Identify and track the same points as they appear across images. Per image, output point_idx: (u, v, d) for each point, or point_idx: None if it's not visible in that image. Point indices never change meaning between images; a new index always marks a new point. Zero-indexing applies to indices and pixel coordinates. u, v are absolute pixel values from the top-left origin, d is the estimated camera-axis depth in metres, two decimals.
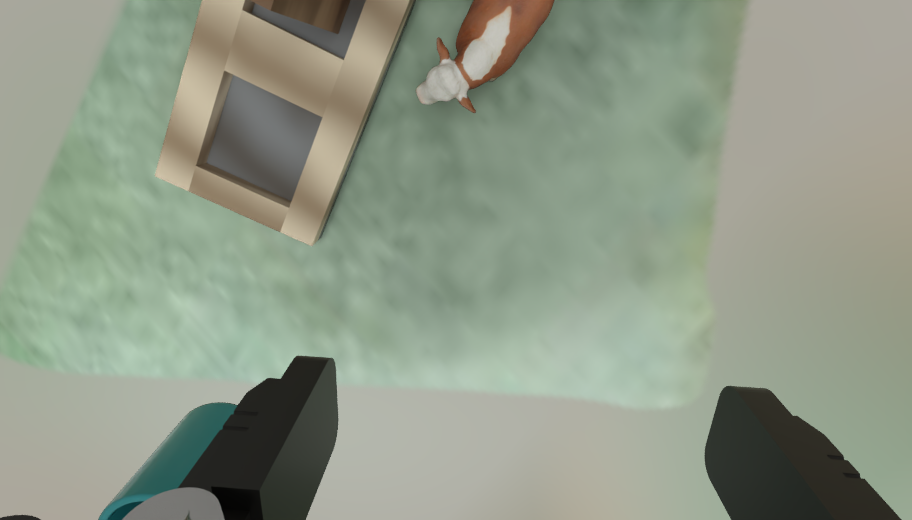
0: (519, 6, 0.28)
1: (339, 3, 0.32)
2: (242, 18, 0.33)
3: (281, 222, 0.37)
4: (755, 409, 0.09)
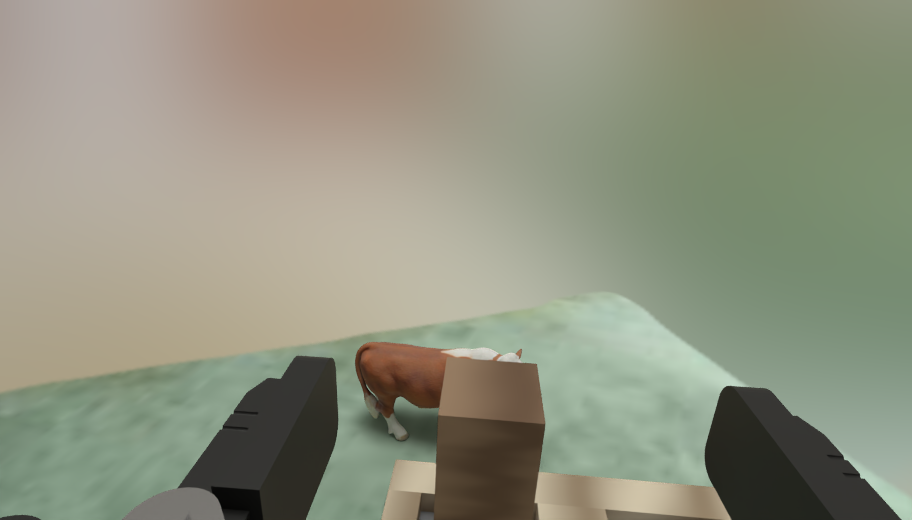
0: (438, 349, 0.37)
1: None
2: None
3: None
4: (755, 409, 0.09)
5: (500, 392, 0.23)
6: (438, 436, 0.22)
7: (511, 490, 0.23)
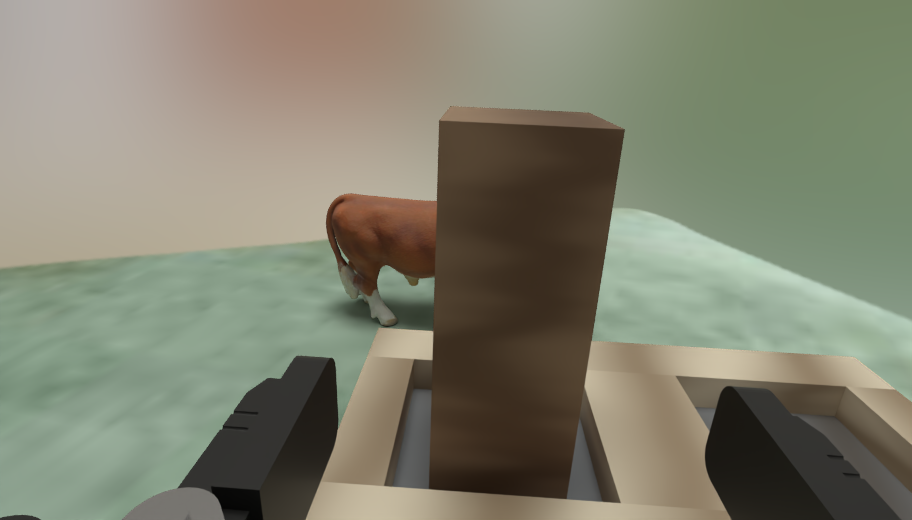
0: None
1: None
2: (635, 499, 0.15)
3: (879, 390, 0.21)
4: (755, 409, 0.09)
5: (539, 117, 0.14)
6: (440, 166, 0.13)
7: (561, 271, 0.14)
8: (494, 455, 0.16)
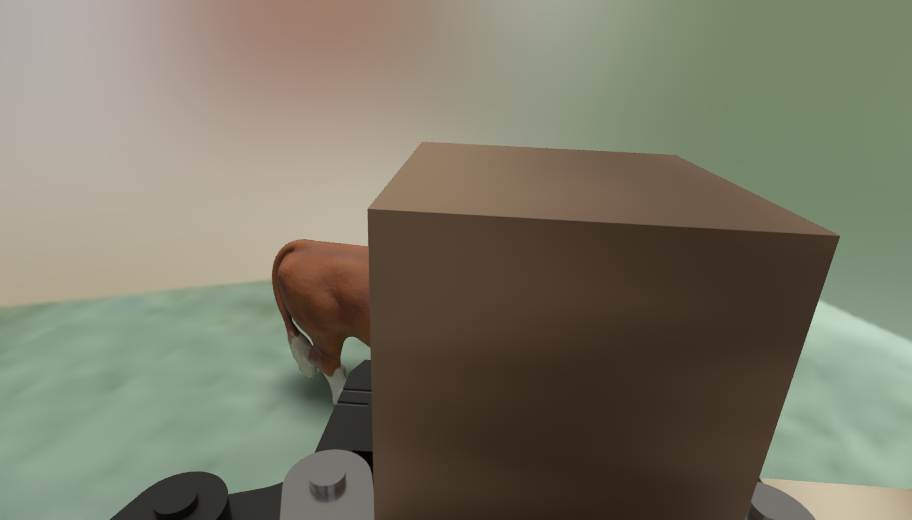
0: None
1: None
2: None
3: None
4: None
5: (599, 180, 0.07)
6: (374, 311, 0.05)
7: None
8: None
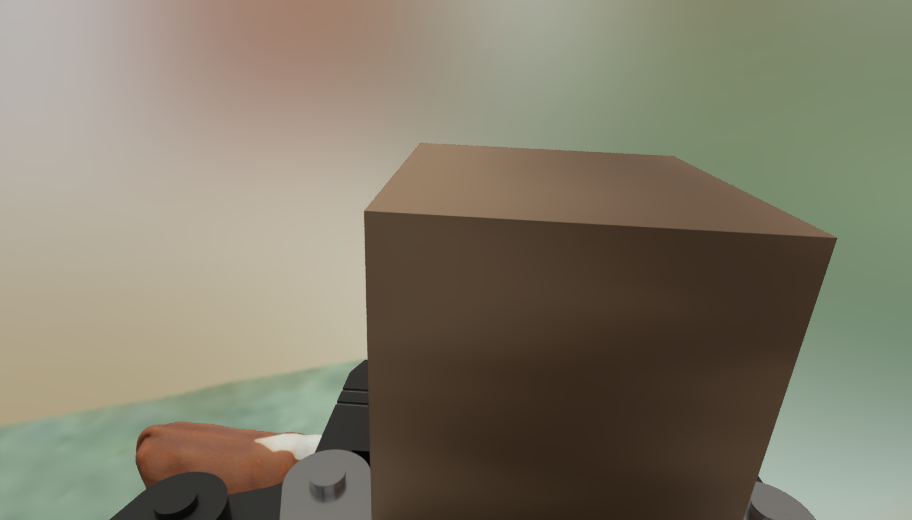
0: (254, 435, 0.25)
1: None
2: None
3: None
4: None
5: (597, 182, 0.07)
6: (371, 313, 0.05)
7: None
8: None
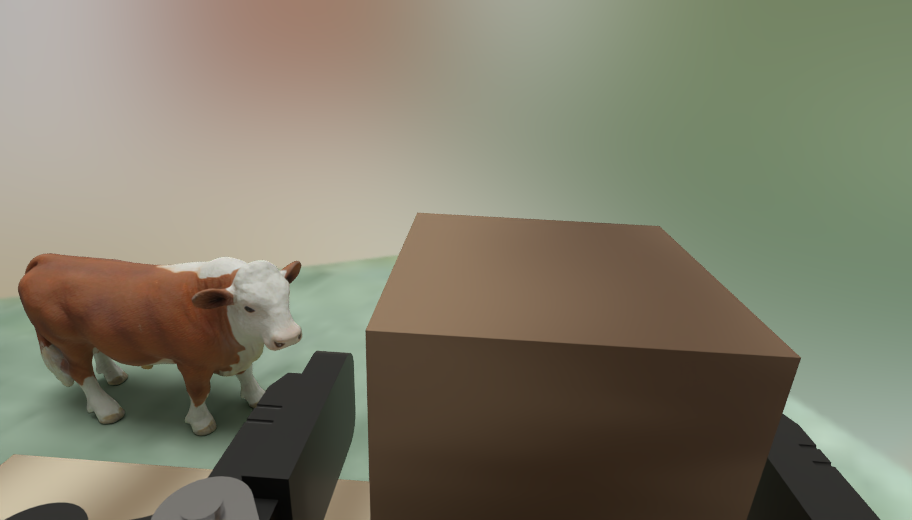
0: None
1: None
2: None
3: None
4: None
5: (583, 273, 0.07)
6: (372, 417, 0.06)
7: None
8: None
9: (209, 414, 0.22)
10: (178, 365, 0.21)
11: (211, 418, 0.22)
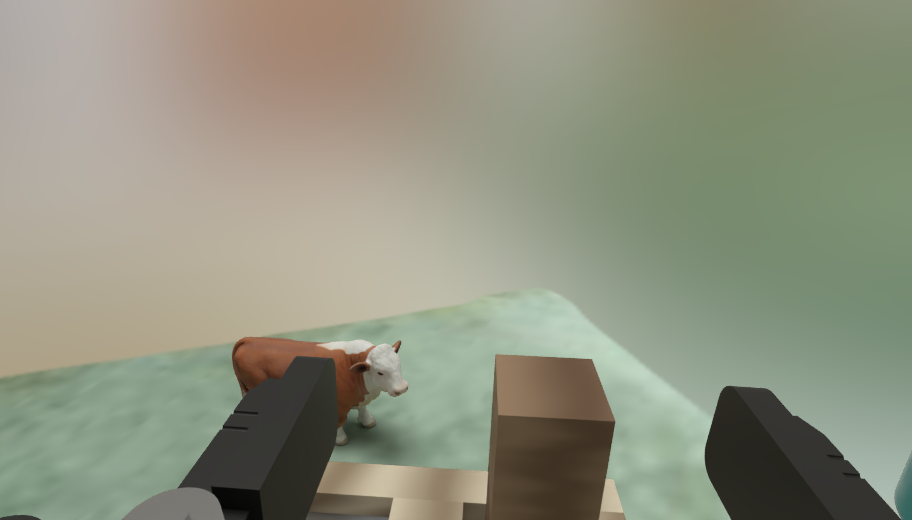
0: (315, 343, 0.36)
1: None
2: None
3: (610, 514, 0.28)
4: (755, 409, 0.09)
5: (559, 389, 0.21)
6: (498, 438, 0.20)
7: (575, 495, 0.21)
8: None
9: (344, 432, 0.37)
10: None
11: (345, 434, 0.37)
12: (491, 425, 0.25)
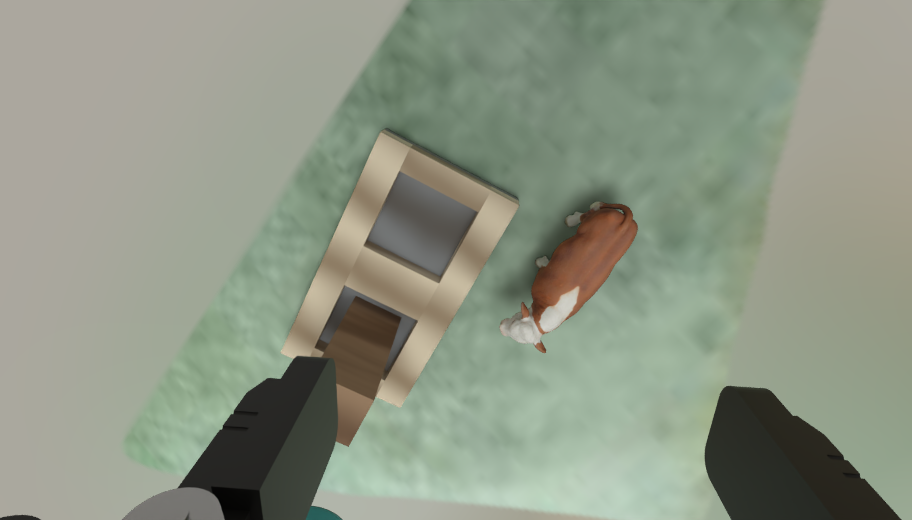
0: (585, 285, 0.37)
1: None
2: (362, 251, 0.42)
3: (377, 390, 0.47)
4: (755, 409, 0.09)
5: None
6: None
7: None
8: None
9: None
10: (542, 272, 0.40)
11: (541, 267, 0.43)
12: (379, 366, 0.38)
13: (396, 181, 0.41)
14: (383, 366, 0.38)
